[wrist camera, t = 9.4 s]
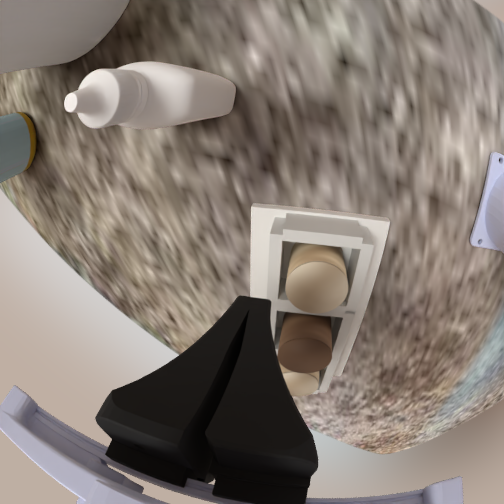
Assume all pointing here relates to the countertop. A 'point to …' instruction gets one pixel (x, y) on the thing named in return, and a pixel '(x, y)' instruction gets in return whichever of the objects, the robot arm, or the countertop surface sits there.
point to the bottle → (16, 144)
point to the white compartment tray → (322, 233)
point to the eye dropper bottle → (150, 96)
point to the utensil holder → (52, 30)
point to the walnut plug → (305, 342)
